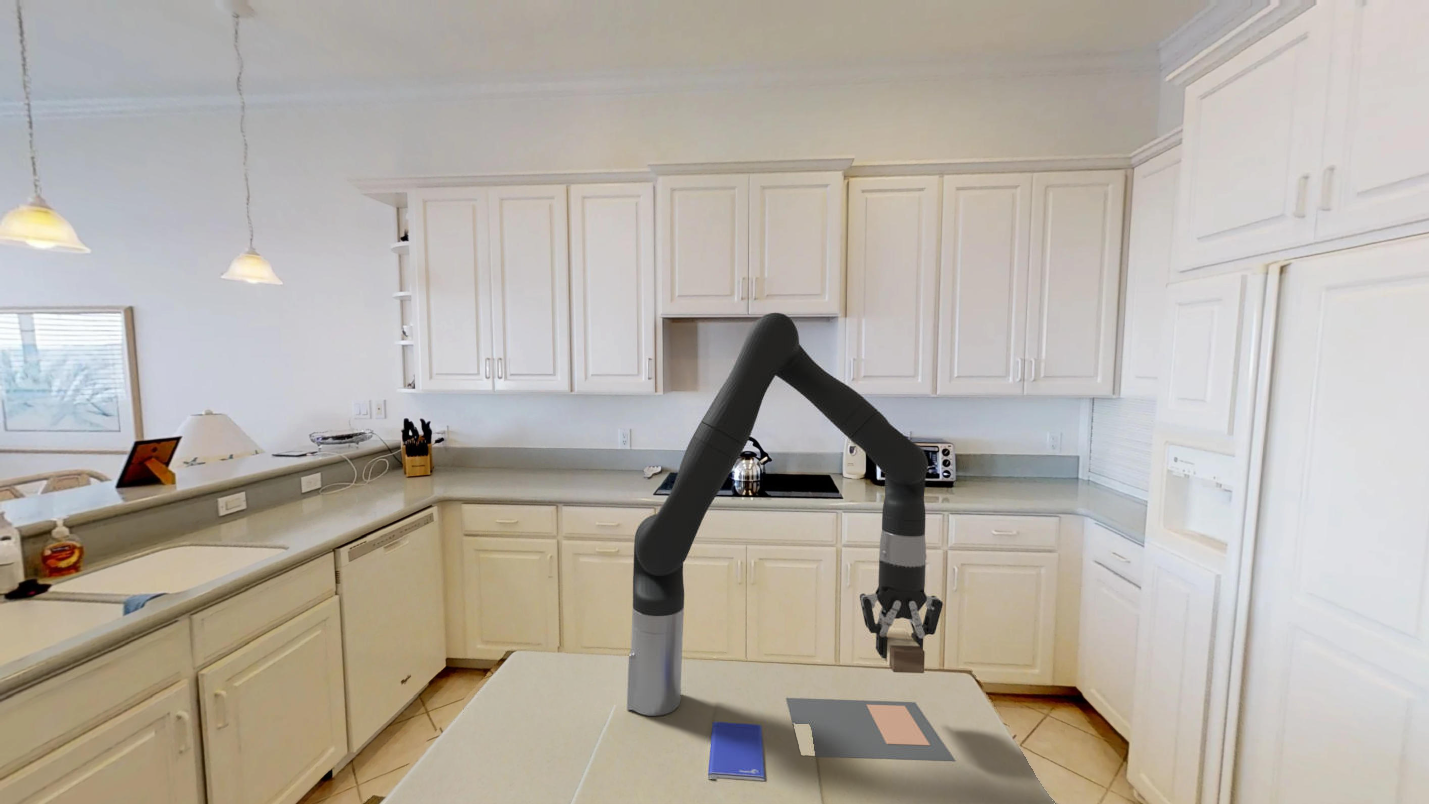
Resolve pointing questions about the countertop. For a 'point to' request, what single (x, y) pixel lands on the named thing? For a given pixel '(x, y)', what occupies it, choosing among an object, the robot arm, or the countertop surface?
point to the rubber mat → (868, 729)
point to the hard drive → (736, 751)
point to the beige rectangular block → (904, 652)
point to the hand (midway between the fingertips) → (898, 656)
